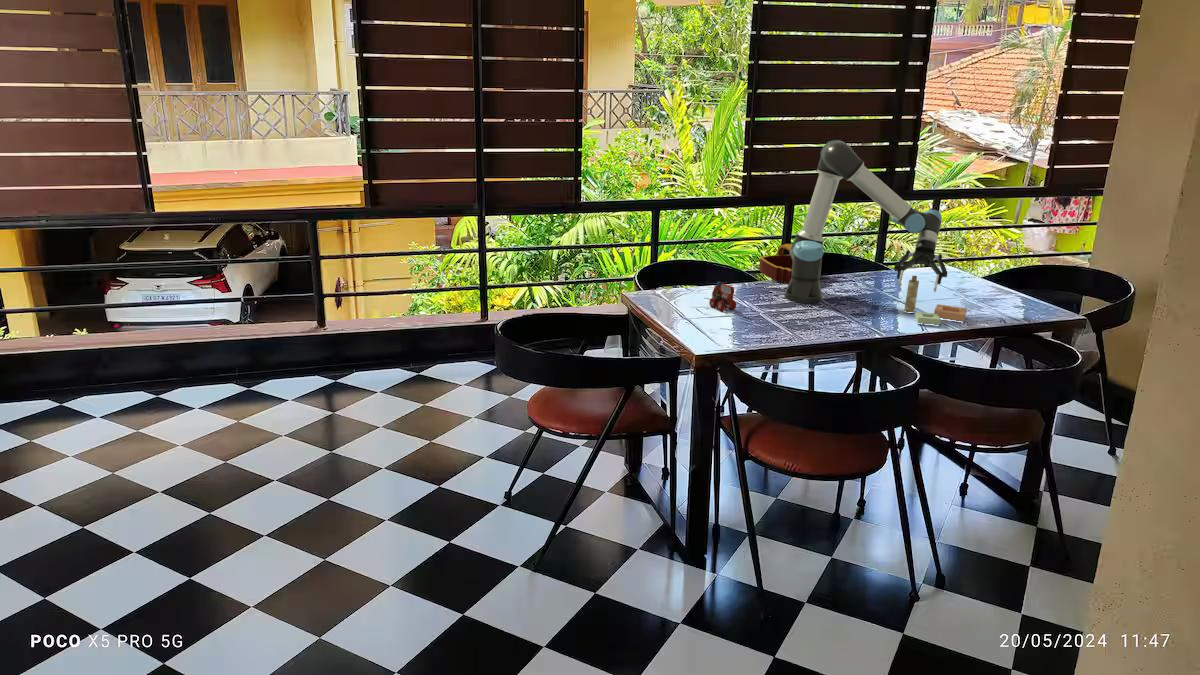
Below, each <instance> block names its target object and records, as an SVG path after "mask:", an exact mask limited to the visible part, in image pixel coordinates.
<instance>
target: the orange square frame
mask: <svg viewBox="0 0 1200 675" xmlns="http://www.w3.org/2000/svg"><path fill="white" fill-rule="evenodd" d="M967 310H968V308H965V307H960V306H951V305H945V304H936V306H935V308H934V311H933V313H934V314H938V316H939V317H940V318H943V319H950V320H956V321H964V322H965V320H964V318H965V319H966V316H965V315H966V314H967Z"/></svg>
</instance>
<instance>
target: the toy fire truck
mask: <svg viewBox="0 0 1200 675" xmlns="http://www.w3.org/2000/svg"><path fill="white" fill-rule="evenodd" d="M734 294H735V288H734V286H732V285H729V284H727V283H722V282H721V281H717V283H716V285H714V288H713V290H712V293H711V298H709V306H710V308H712V309H717V311H718V312H724V311H725V309H729V310H730V311H735V310H736V308H737V302H736V300H735V299H734Z"/></svg>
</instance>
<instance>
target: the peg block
mask: <svg viewBox="0 0 1200 675" xmlns="http://www.w3.org/2000/svg"><path fill="white" fill-rule="evenodd" d="M917 279H918V276H917V275H912V277H911V279H909V280H908V283H907V290H906V291H907V292H906V297H905V303H904V304H905V305H904V309H903V310H904V311H906V312H914V313H915V311H914V310H915V309H916V303H917V297H918V290H919V284H920V280H917ZM904 311H903V312H904Z"/></svg>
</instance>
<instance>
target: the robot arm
mask: <svg viewBox="0 0 1200 675" xmlns="http://www.w3.org/2000/svg"><path fill="white" fill-rule="evenodd" d="M854 151H855V150H854V149H853V148H852V147H851V146H850V145H849V144H848V143H847V142H845V141H842V140H839V139H834V140H830V141H828V142H826V143H825V144H824V146H823V147H822V148H821V151H820V158H819V162H818V165H817V167H816V168H817V169H816V171H817V174H818V177H817V180H816V183H815V186H814V191H813V194H812V196H811V200H810V203H809V206H808V209H807V212H806V215H805V219H804V222H803V225H802V227H801V229H800V230H799V231H797V232H796V234H795V237H794V241H793V243H792V244H791V245H792V246H791V249H790V251H789V255H791V259H792V261H793V264H792V274H791V280H790V282H789V284H788V285H787V287H786V289H785V292H784V298H785V299H786V300H788V301H791V302H795V303H801V304H818V303H821V302H822V301H823V300H822V299H823V293H822V288H821V283H820V280H821V272H822V262H823V256H824V247H823V244H824V241H825V240H824V238H823V232H824V231H825V230H824V228H825V226H826V224H827V220H828V216H829V214H830V211H831V207H832V204H833V201H834V199H835V195H836V192H837V190H838V187H839V183H840V180H842V179H844V180H845V181H847V182H848V181H850V182H851V183H852V184H854V185H855V186H856V187H857V188H858V189H859V190H861V191H862V192H863V193H864V194H866V195H867V197H869V198H870V199H871V200H872V201H873V202H875V203H876V205H878V206H879V207H880V208H881V209H883V210H884V211H885V212H886V213H887V214H889V215H890V216H891V221H892V223H895V224H897V225H901V226H902V227H903V228H905V230H906V231H908V232H909V233H912V234H917V233H918V235H917V241H916V245H915V249H914V251H913V252H912V251H910V250H906V251H905V254H904V256H903V257H901V258H900V260H898V261H897V263H896V264H895V265H894V266H893V268H894V270H893V271H894V272H897V274H896V279H897V280H898V282H897V287H898V288H900V287H901V286H902V280H903V276H904V272H905V271H907V269H909V268H910V267H912V266H914V265H916V264H918V265H928V266H929V267H930V268H931V269H932V270H933V271H934V273H935V274H936V276H935V282H934V285H933V286H934V287H933V292H934V293H936V292H937V287H938V285H941V284H942V279H943V278H947V277H948V271H947V268H946V266H945V262H944V261H943V254H941V253H939V254H935V252H936V248H937V244H938V243H937V242H938V238H939V233H940V228H941V225H942V216H943V215H942V214H941V212H940V211H939V210H936V209H927V210H925V211H923V212H922V211H919V210H917V209H914V208H913V207H912V206H911V205H910V204H909V203H907V202H906V201H905V200H904V199H902V197H900V195H899V194H897V193H896V192H895V191H894V190H892V189H891V187H889V186H888V185H887V184H886V183H885V182H884V181H883V180H881V178H879V177H878V176H876V175H875V173H873V172H872V171H871V170H870V169H869V168H867V167H866V166H865V161H864V160H862V159H861V158H860V157H859V156H858V155H857V153H856V152H854ZM911 257H912V258H911ZM910 258H911V259H910ZM909 259H910V260H909ZM908 260H909V261H908ZM934 260H936V262H938V265H939V267H938V266H937V264H936V263H935V262H934ZM905 262H906V263H905Z"/></svg>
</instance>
